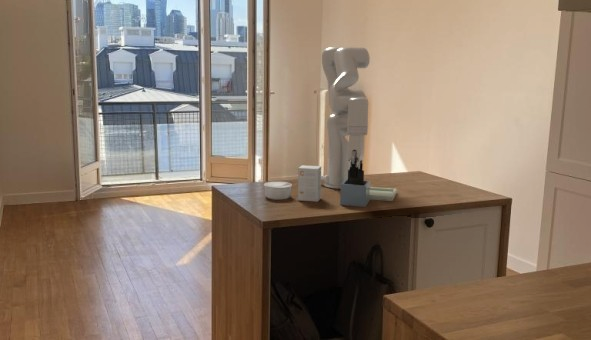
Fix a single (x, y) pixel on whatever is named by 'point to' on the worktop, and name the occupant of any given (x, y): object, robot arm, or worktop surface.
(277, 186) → the ramekin
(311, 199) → the small box
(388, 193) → the tray
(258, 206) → the worktop surface
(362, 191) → the holder
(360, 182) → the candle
